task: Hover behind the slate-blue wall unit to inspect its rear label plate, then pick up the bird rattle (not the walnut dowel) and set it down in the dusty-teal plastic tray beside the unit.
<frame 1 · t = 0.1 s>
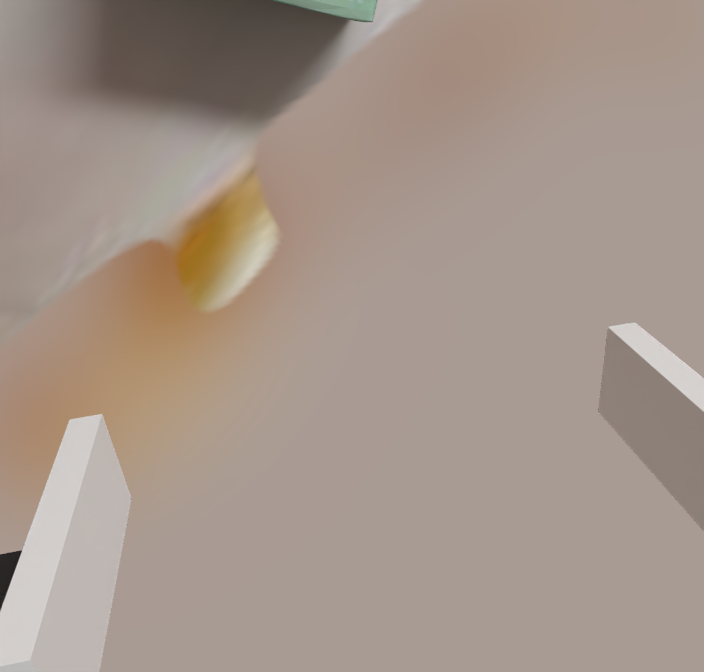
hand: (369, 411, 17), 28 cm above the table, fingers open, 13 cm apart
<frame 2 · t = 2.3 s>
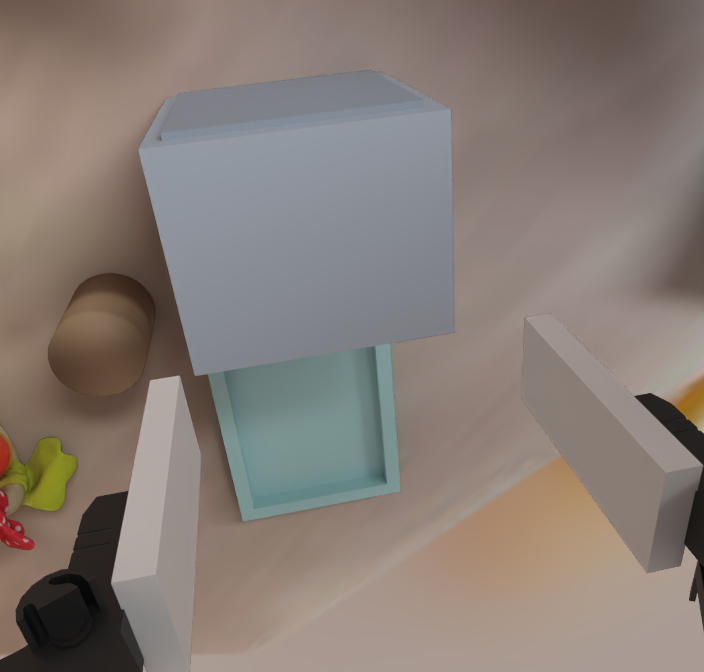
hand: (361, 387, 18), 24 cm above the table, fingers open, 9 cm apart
unit: (288, 173, 38), on the table
tray: (305, 398, 46), on the table
walnut dowel: (113, 310, 40), on the table
bird rattle: (10, 435, 43), on the table
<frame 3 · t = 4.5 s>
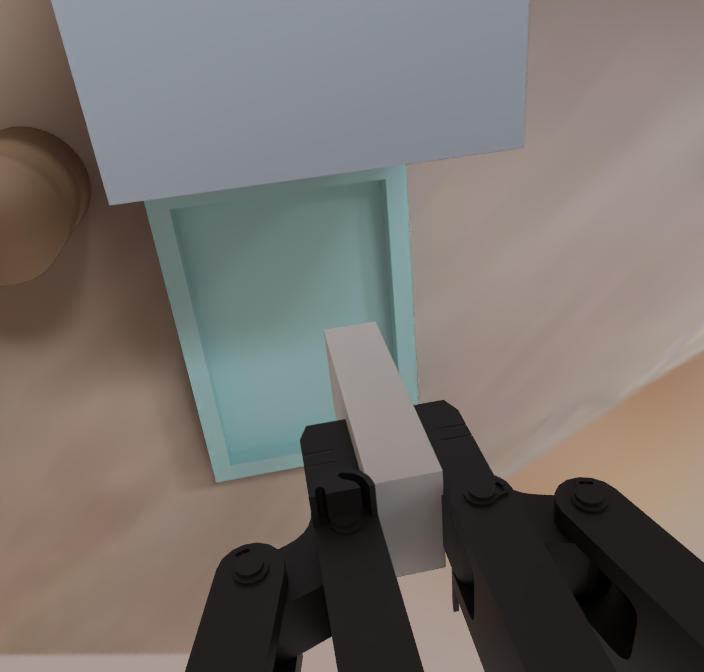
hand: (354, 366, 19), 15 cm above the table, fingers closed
tray: (297, 318, 35), on the table
walnut dowel: (32, 183, 29), on the table
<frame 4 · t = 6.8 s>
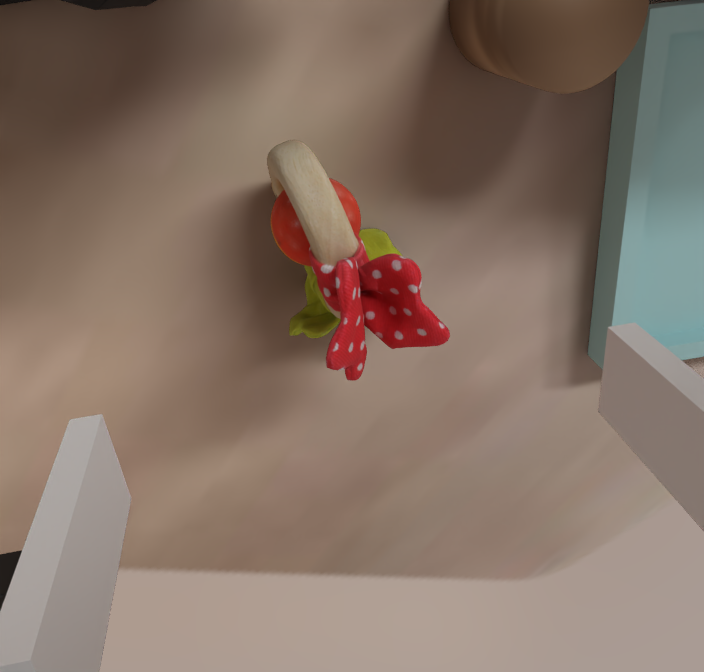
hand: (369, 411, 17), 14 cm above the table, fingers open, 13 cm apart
walnut dowel: (508, 7, 26), on the table
bird rattle: (312, 223, 29), on the table
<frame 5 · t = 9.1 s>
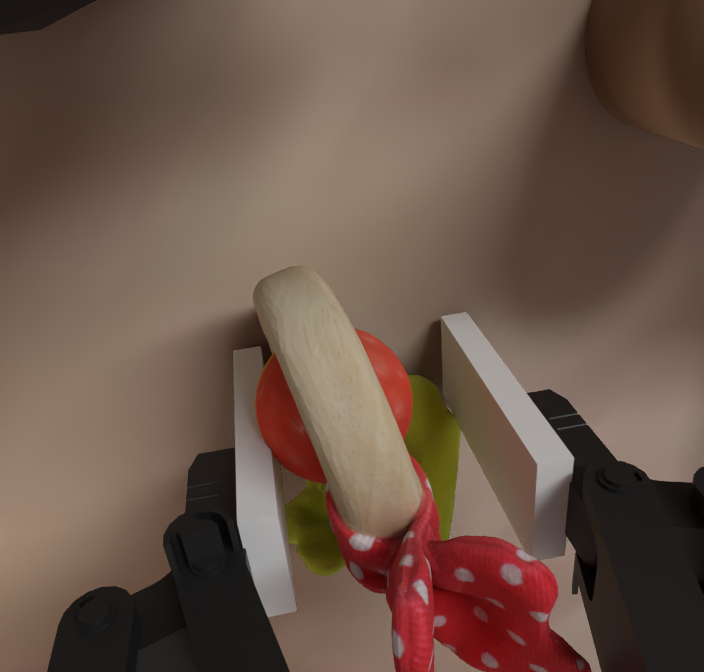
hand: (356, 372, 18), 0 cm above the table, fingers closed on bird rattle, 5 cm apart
walnut dowel: (681, 24, 16), on the table
bird rattle: (320, 365, 19), on the table, touching gripper
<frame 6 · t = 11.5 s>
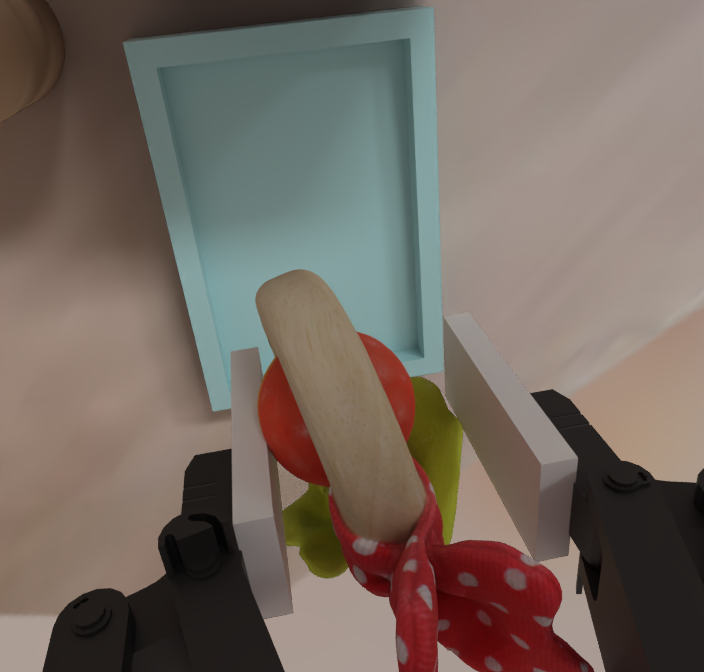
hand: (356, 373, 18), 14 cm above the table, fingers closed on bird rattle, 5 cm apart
tray: (305, 220, 31), on the table
bird rattle: (322, 367, 19), point 14 cm above the table, touching gripper
when the fingers open (2 cm above the table, at t = 13.8 s): bird rattle drops 1 cm, resting on tray.
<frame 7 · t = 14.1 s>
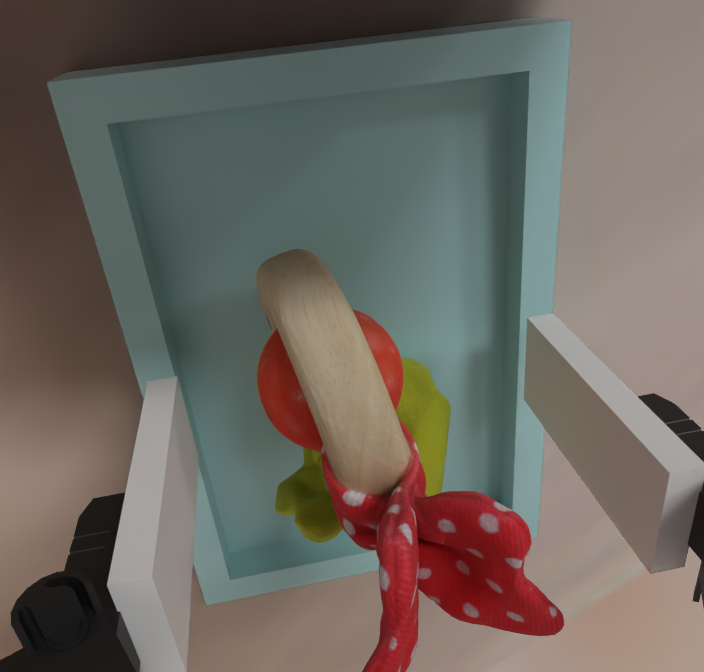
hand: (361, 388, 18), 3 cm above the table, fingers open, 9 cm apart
tray: (343, 335, 20), on the table
bird rattle: (318, 348, 20), point 1 cm above the table, touching tray
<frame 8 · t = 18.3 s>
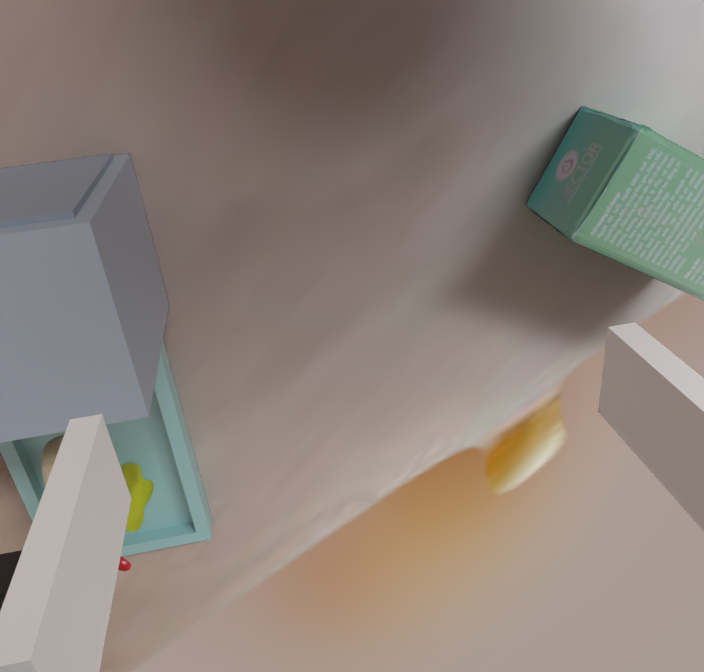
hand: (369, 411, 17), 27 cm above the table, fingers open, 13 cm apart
unit: (52, 247, 40), on the table
tray: (107, 452, 47), on the table
bird rattle: (94, 459, 47), point 1 cm above the table, touching tray
box: (620, 190, 45), on the table
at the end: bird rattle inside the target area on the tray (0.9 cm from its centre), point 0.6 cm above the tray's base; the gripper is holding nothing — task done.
